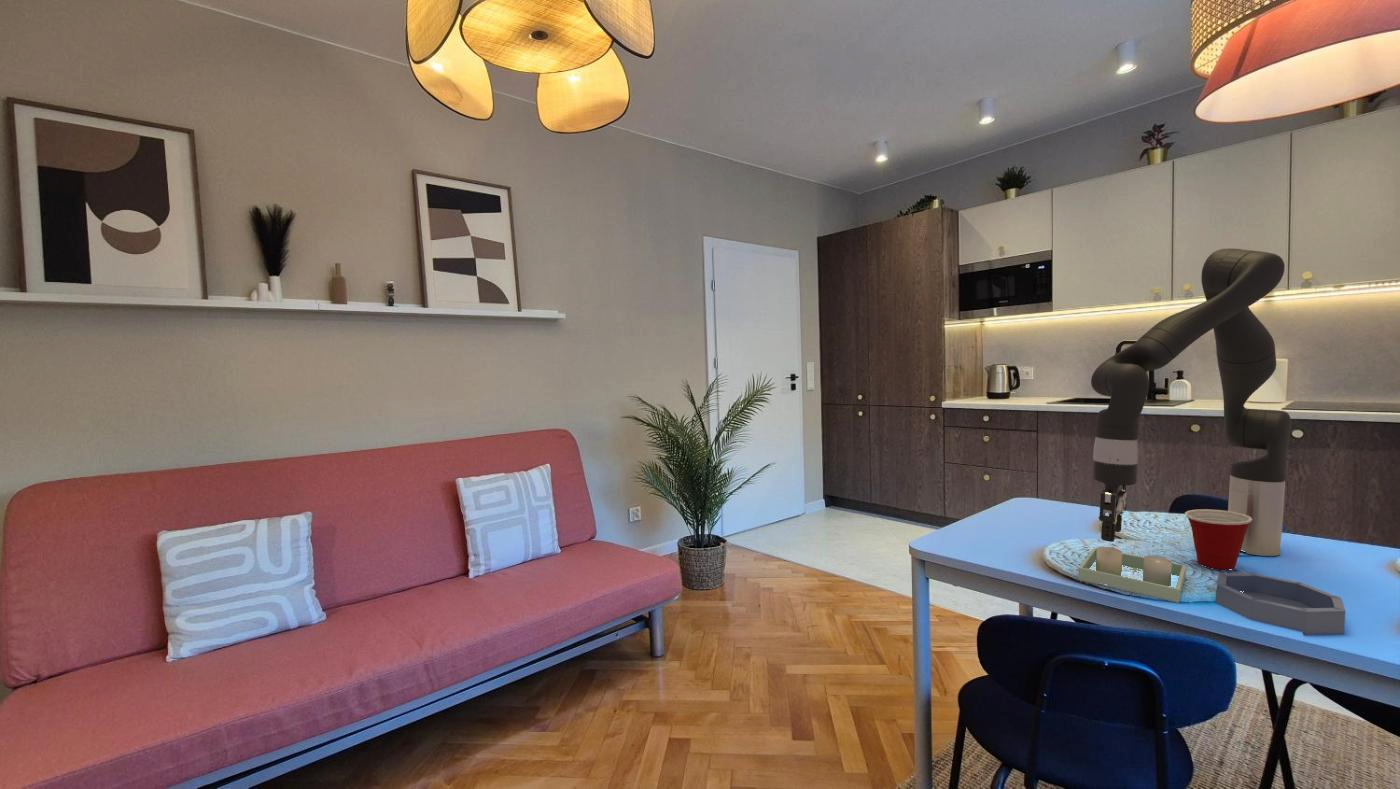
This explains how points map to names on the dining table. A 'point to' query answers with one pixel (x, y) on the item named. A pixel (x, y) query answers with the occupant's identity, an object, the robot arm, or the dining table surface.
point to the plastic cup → (1218, 536)
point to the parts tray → (1130, 583)
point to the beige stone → (1109, 560)
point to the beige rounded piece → (1157, 570)
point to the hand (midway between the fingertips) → (1111, 535)
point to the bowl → (1281, 603)
